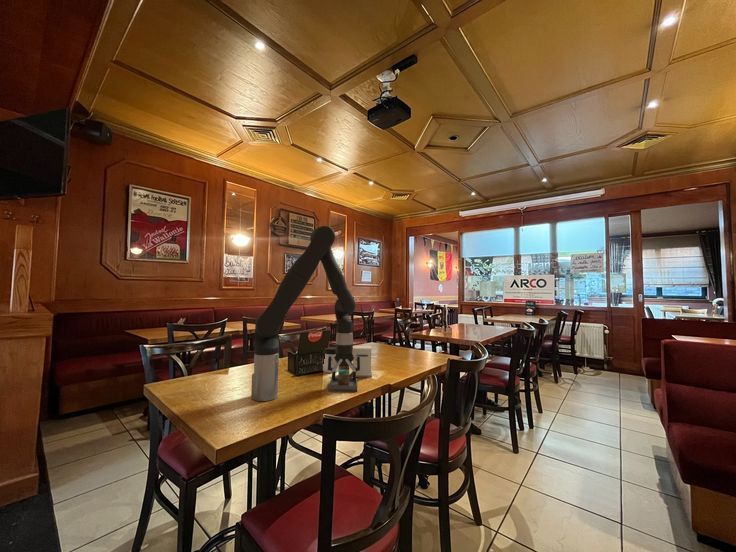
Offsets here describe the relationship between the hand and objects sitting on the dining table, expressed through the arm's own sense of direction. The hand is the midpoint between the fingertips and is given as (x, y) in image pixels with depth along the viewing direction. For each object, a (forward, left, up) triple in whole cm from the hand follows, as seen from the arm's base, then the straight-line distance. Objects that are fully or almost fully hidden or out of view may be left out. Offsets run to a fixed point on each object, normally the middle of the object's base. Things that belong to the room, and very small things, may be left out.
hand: (343, 380), depth 132 cm
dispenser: (+8, +19, -3) cm, 21 cm away
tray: (0, 0, -3) cm, 3 cm away
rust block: (-1, +18, -3) cm, 18 cm away
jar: (-8, +27, -3) cm, 28 cm away
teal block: (0, 0, -2) cm, 2 cm away
